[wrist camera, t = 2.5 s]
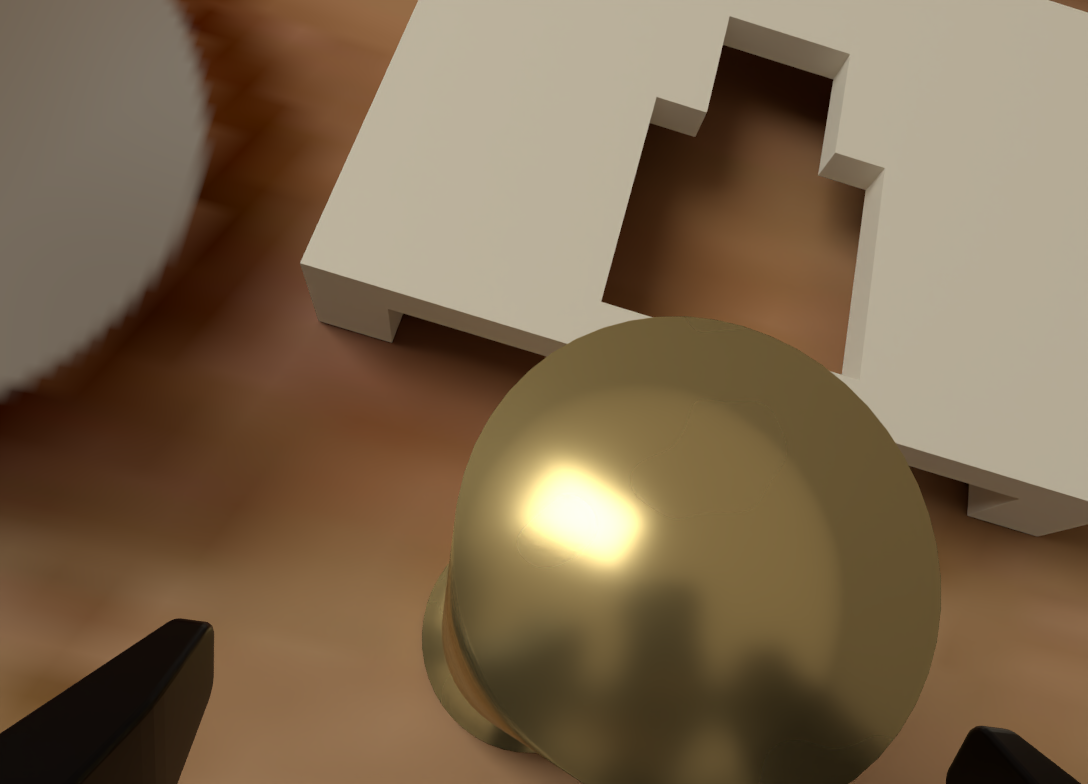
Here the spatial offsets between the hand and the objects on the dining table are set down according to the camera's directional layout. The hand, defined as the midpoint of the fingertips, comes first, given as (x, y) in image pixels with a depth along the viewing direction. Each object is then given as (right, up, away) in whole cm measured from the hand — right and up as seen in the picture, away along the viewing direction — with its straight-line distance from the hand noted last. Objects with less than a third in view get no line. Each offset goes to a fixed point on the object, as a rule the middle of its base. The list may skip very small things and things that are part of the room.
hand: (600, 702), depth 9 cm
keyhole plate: (+5, +9, +14) cm, 17 cm away
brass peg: (-1, -2, +9) cm, 10 cm away
